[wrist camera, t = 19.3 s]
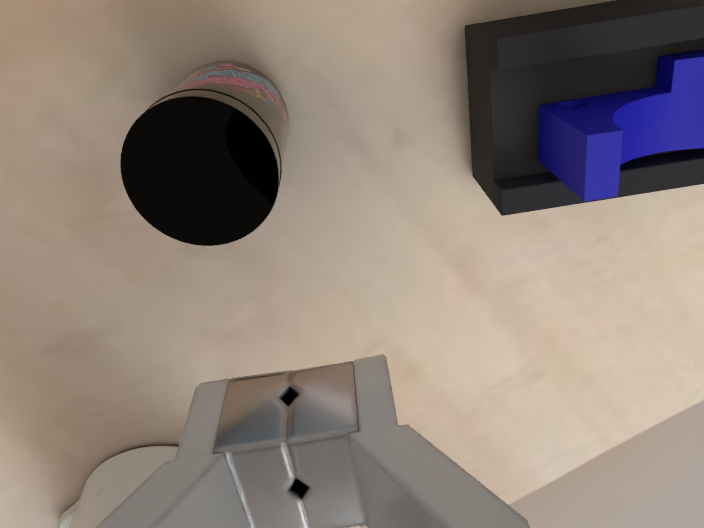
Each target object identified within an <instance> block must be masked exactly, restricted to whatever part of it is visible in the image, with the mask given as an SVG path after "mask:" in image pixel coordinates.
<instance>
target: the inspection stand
mask: <svg viewBox="0 0 704 528" xmlns="http://www.w3.org/2000/svg"><path fill="white" fill-rule="evenodd" d="M465 37H466V56H467V75H468V94H469V113H470V132H471V152H472V171H473V177H474V178H475V180H476V181H477V182H478V184H479V185H480V186H481V188H482V189H483V191H484V192H485V193H486V195H487V196H488V197H489V199H490V200H491V201H492V203H493V204H494V205H495V207H496V208H497V210H498V211H499V212H500V214H501V215H510V214H516V213H522V212H529V211H535V210H541V209H548V208H554V207H560V206H566V205H573V204H579V203H585V202H592V201H598V200H604V199H611V198H617V197H623V196H630V195H636V194H642V193H649V192H655V191H661V190H668V189H674V188H680V187H686V186H693V185H699V184H704V148H699V149H683V150H673V151H666V152H659V153H654V154H649V155H645V156H642V157H638V158H635V159H632V160H630V161H627V162H625V163H623V164H621V165H620V174H619V187H618V196H617V197H610V198H604V199H597V200H591V201H583V200H582V199H581V198H580V197H579V196H577V195H576V194H575V193H574V192H573V191H572V190H571V189H569V188H568V187H567V186H566V185H565V184H564V183H563V182H562V181H560V180H559V179H558V178H557V177H556V176H555V175H554V174H552V173H551V172H550V171H549V170H548V169H547V168H546V167H545V166H543V165H542V164H541V163H540V162H539V161H538V119H539V105H541V104H547V103H554V102H560V101H567V100H573V99H580V98H586V97H592V96H599V95H605V94H612V93H618V92H624V91H631V90H637V89H644V88H650V87H655V83H656V73H657V63H658V56H663V55H669V54H675V53H682V52H688V51H694V50H701V49H704V0H617V1H611V2H605V3H599V4H593V5H587V6H581V7H575V8H569V9H563V10H557V11H551V12H545V13H538V14H532V15H526V16H520V17H514V18H508V19H502V20H496V21H490V22H484V23H478V24H472V25H466V26H465Z"/></svg>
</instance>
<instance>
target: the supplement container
mask: <svg viewBox="0 0 704 528" xmlns="http://www.w3.org/2000/svg"><path fill="white" fill-rule="evenodd" d="M287 134H288V114H287V109H286V105H285V103H284V100H283V98H282V96H281V94H280V92H279V91H278V89H277V88H276V87H275V85H274V84H273V83H272V82H271V81H270V80H269V79H268V78H267V77H266V76H265V75H263V74H262V73H261V72H259V71H258V70H256V69H254V68H252V67H250V66H247V65H244V64H241V63H236V62H215V63H211V64H208V65H205V66H203V67H201V68H199V69H197V70H196V71H194V72H193V73H192V74H190V75H189V76H188V77H187V78H186V79H184V80H183V81H182V82H181V83H180V84H179V85H177V86H176V87H175V88H174V89H173V90H171V91H170V92H169V93H168V94H167V95H166V96H164V97H162V98H161V99H159V100H158V101H156V102H155V103H154V104H153V105H151V106H150V107H149V108H148V109H147V110H146V111H145V112H144V113H143V114H142V115H141V116H140V117H139V118H138V119H137V120H136V121H135V123H134V124H133V125H132V127H131V128H130V130H129V132H128V134H127V136H126V138H125V141H124V144H123V147H122V152H121V174H122V180H123V183H124V187H125V189H126V192H127V194H128V196H129V198H130V200H131V202H132V204H133V205H134V207H135V208H136V209H137V211H138V212H139V213H140V214H141V216H142V217H143V218H144V219H145V220H146V221H147V222H148V223H150V224H151V225H152V226H153V227H155V228H156V229H157V230H159V231H160V232H162V233H164V234H165V235H167V236H169V237H171V238H174V239H176V240H179V241H182V242H185V243H189V244H194V245H203V246H212V245H221V244H226V243H230V242H233V241H236V240H239V239H241V238H243V237H245V236H246V235H248V234H250V233H251V232H253V231H254V230H255V229H256V228H257V227H258V226H259V225H260V224H261V223H262V222H263V221H264V220H265V219H266V218H267V216H268V214H269V213H270V211H271V209H272V207H273V205H274V203H275V200H276V197H277V193H278V188H279V185H280V180H281V173H282V162H283V156H284V150H285V145H286V139H287Z"/></svg>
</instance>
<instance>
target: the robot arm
mask: <svg viewBox="0 0 704 528" xmlns="http://www.w3.org/2000/svg"><path fill="white" fill-rule="evenodd" d="M364 525H367V526H368V528H530V526H529V524H528V521H527V520H526V519H525V518H524V517H522V516H521V515H520V514H519V513H518V512H516V511H515V510H514V509H513V508H511V507H510V506H509V505H508V504H506V503H505V502H504V501H503V500H501V499H500V498H499V497H498V496H496V495H495V494H494V493H493V492H491V491H490V490H489V489H488V488H486V487H485V486H484V485H483V484H481V483H480V482H479V481H478V480H476V479H475V478H474V477H473V476H471V475H470V474H469V473H468V472H466V471H465V470H464V469H463V468H461V467H460V466H459V465H458V464H456V463H455V462H454V461H453V460H451V459H450V458H449V457H448V456H446V455H445V454H444V453H443V452H441V451H440V450H439V449H438V448H437V447H435V446H434V445H433V444H432V443H430V442H429V441H428V440H427V439H425V438H424V437H423V436H422V435H420V434H419V433H418V432H417V431H415V430H414V429H413V428H412V427H410V426H409V425H401V426H398V422H397V416H396V410H395V404H394V399H393V393H392V387H391V382H390V376H389V370H388V364H387V359H386V357H385V355H384V354H383V355H377V356H372V357H366V358H361V359H356V360H354V361H351V362H344V363H338V364H332V365H325V366H319V367H313V368H307V369H300V370H294V371H293V370H290V371H283V372H275V373H268V374H260V375H253V376H245V377H238V378H232V379H224V380H218V381H211V382H204V383H200V384H199V385H198V386H197V387H196V389H195V392H194V395H193V399H192V402H191V405H190V409H189V412H188V416H187V419H186V422H185V426H184V429H183V433H182V436H181V439H180V443H179V446H178V447H175V446H150V447H142V448H137V449H133V450H129V451H126V452H123V453H120V454H118V455H116V456H113V457H112V458H110V459H108V460H106V461H105V462H103V463H102V464H101V465H99V466H98V467H97V468H96V469H95V470H94V471H93V472H92V473H91V475H90V476H89V477H88V479H87V481H86V483H85V485H84V488H83V491H82V493H81V496H80V498H79V500H78V501H77V502H76V503H75V504H74V505H72V506H71V507H70V508H69V509H67V510H66V511H65V512H64V513H63V514H62V516H61V518H60V521H59V524H58V527H57V528H348V527H356V526H364Z"/></svg>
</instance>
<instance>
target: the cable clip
mask: <svg viewBox="0 0 704 528" xmlns="http://www.w3.org/2000/svg"><path fill="white" fill-rule="evenodd" d="M699 148H704V49H701V50H694V51H688V52H682V53H675V54H669V55H663V56H658V63H657V73H656V83H655V87H650V88H644V89H637V90H631V91H624V92H618V93H612V94H605V95H599V96H592V97H586V98H580V99H573V100H567V101H560V102H554V103H547V104H541V105H539V119H538V161H539V162H540V163H541V164H542V165H543V166H545V167H546V168H547V169H548V170H549V171H550V172H551V173H552V174H554V175H555V176H556V177H557V178H558V179H559V180H560V181H562V182H563V183H564V184H565V185H566V186H567V187H568V188H569V189H571V190H572V191H573V192H574V193H575V194H576V195H577V196H579V197H580V198H581V199H582V200H583V201H591V200H597V199H604V198H610V197H617V196H618V187H619V174H620V165H621V164H623V163H625V162H627V161H630V160H632V159H635V158H638V157H642V156H645V155H649V154H654V153H659V152H666V151H673V150H683V149H699Z"/></svg>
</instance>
